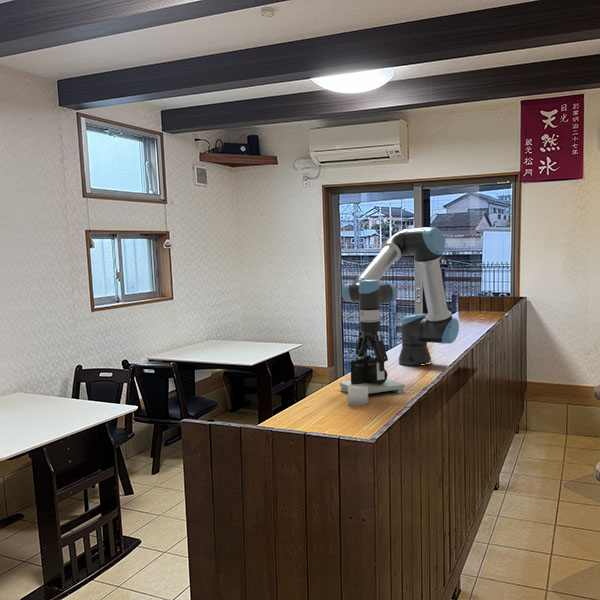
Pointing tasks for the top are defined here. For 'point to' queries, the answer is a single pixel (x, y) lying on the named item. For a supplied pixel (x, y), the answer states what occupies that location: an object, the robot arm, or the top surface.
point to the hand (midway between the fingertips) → (371, 376)
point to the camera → (365, 371)
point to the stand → (377, 386)
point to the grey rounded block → (358, 395)
